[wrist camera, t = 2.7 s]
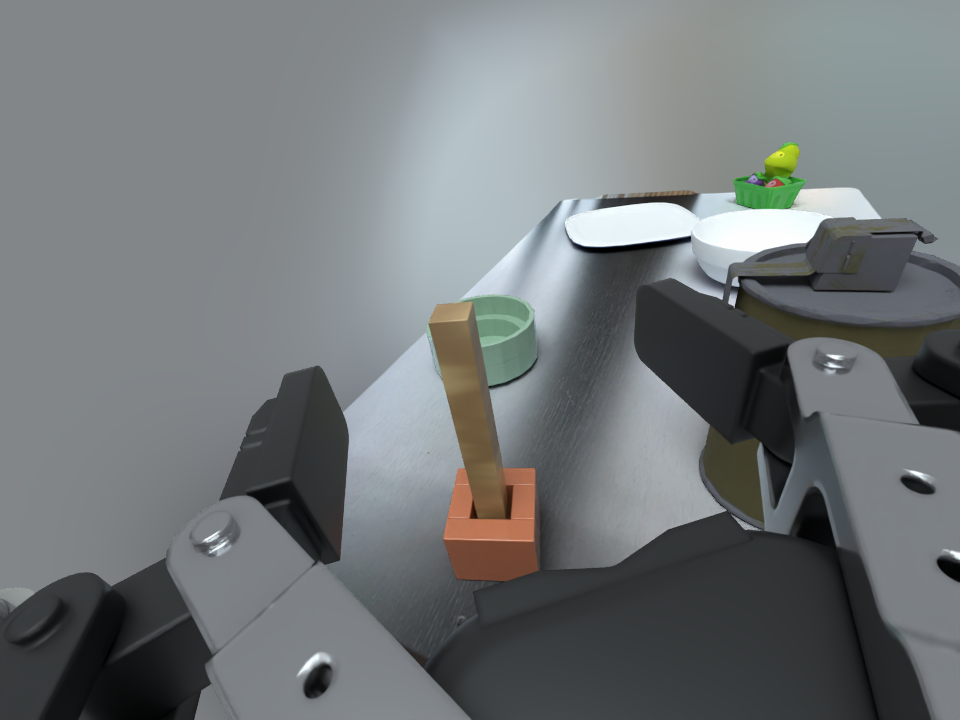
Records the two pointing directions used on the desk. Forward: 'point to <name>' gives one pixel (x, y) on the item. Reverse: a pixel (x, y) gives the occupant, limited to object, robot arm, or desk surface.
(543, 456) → the desk surface
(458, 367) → the stirring stick
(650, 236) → the plate
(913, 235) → the canister
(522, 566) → the orange square socket block
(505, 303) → the mixing bowl
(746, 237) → the bowl
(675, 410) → the desk surface
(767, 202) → the fruit basket
